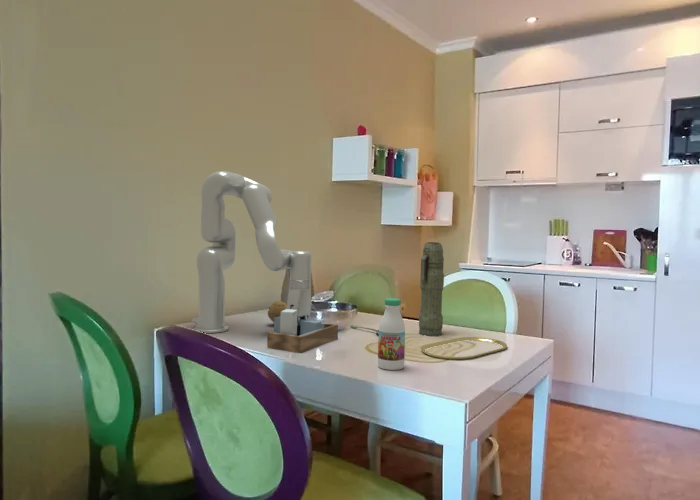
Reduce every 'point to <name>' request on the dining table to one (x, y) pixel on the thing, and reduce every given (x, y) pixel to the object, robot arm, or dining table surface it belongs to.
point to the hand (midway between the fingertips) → (299, 334)
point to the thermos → (431, 290)
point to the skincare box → (288, 322)
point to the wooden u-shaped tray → (302, 339)
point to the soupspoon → (364, 328)
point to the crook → (305, 326)
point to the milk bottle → (391, 337)
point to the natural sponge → (276, 309)
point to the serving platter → (462, 340)
